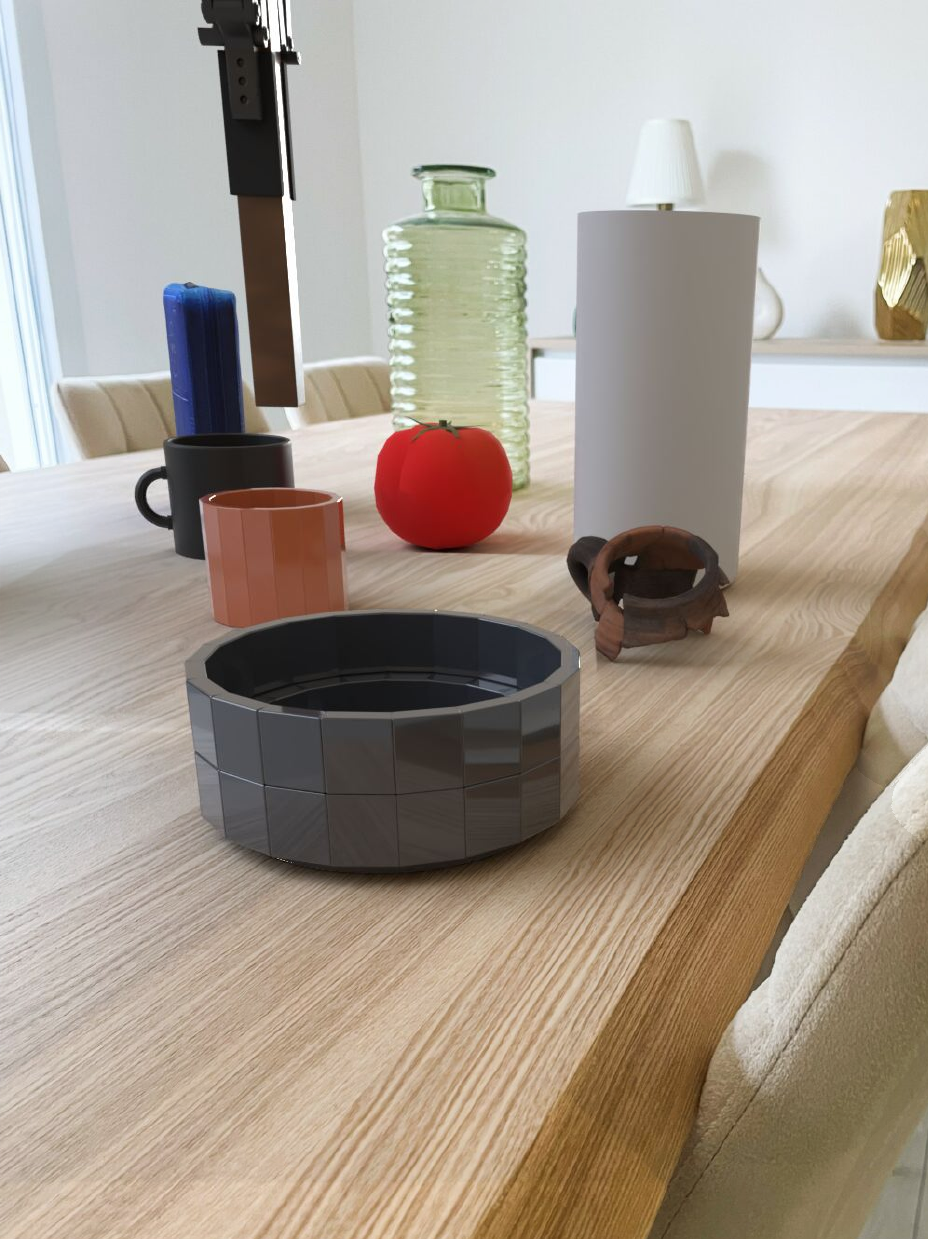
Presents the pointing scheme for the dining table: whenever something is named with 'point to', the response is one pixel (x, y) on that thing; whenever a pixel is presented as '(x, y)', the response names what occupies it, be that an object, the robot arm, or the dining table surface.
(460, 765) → the bowl
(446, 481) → the tomato
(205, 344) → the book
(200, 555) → the mug
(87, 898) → the dining table surface
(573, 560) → the pottery mug
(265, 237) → the stick
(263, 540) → the pot
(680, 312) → the cylinder vase
